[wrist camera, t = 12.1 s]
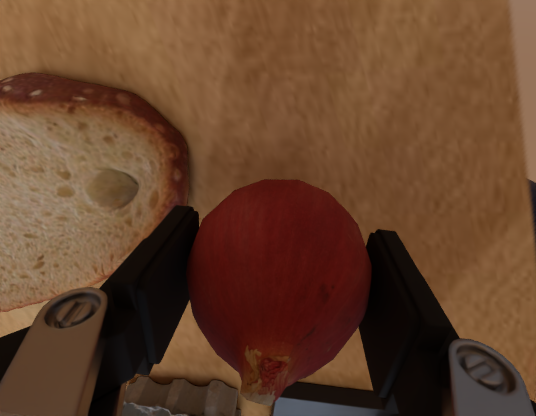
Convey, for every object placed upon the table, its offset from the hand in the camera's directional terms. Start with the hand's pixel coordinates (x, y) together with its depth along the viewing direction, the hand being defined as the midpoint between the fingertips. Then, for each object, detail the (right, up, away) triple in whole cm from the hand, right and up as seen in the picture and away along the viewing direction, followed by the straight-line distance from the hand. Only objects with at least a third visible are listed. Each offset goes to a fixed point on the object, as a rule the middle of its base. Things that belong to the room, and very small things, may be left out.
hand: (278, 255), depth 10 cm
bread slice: (-14, +1, +8) cm, 16 cm away
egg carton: (-8, -16, +17) cm, 25 cm away
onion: (0, +1, +3) cm, 3 cm away
